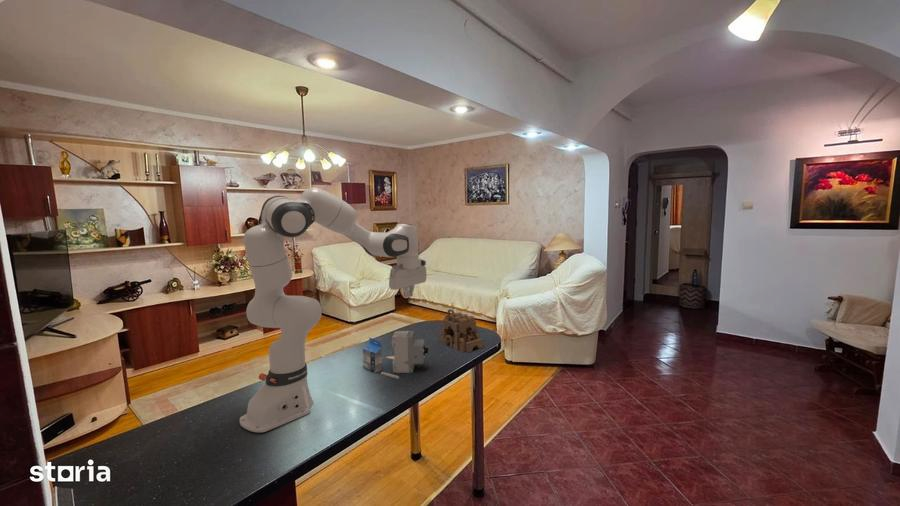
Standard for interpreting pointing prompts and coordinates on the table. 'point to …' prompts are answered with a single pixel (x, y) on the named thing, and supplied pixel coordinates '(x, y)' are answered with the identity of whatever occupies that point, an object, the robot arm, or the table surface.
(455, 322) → the wooden puzzle
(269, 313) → the robot arm
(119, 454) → the table surface
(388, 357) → the cork pad
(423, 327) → the table surface
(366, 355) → the label tape box
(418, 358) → the circuit breaker
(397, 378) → the peg
